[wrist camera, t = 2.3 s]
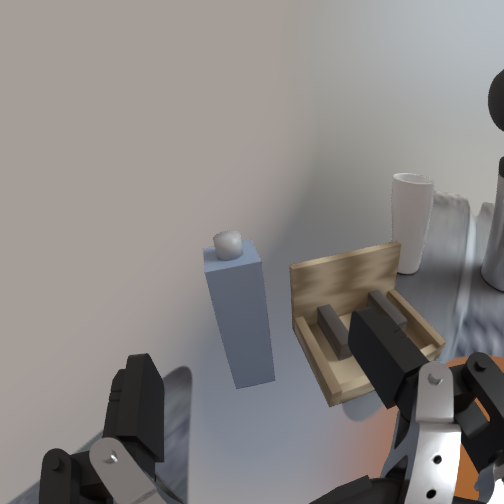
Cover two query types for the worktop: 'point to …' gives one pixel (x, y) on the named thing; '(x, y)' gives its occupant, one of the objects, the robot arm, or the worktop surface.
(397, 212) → the drinking glass
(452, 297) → the worktop surface
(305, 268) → the box
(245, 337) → the blue square bottle
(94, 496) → the robot arm
